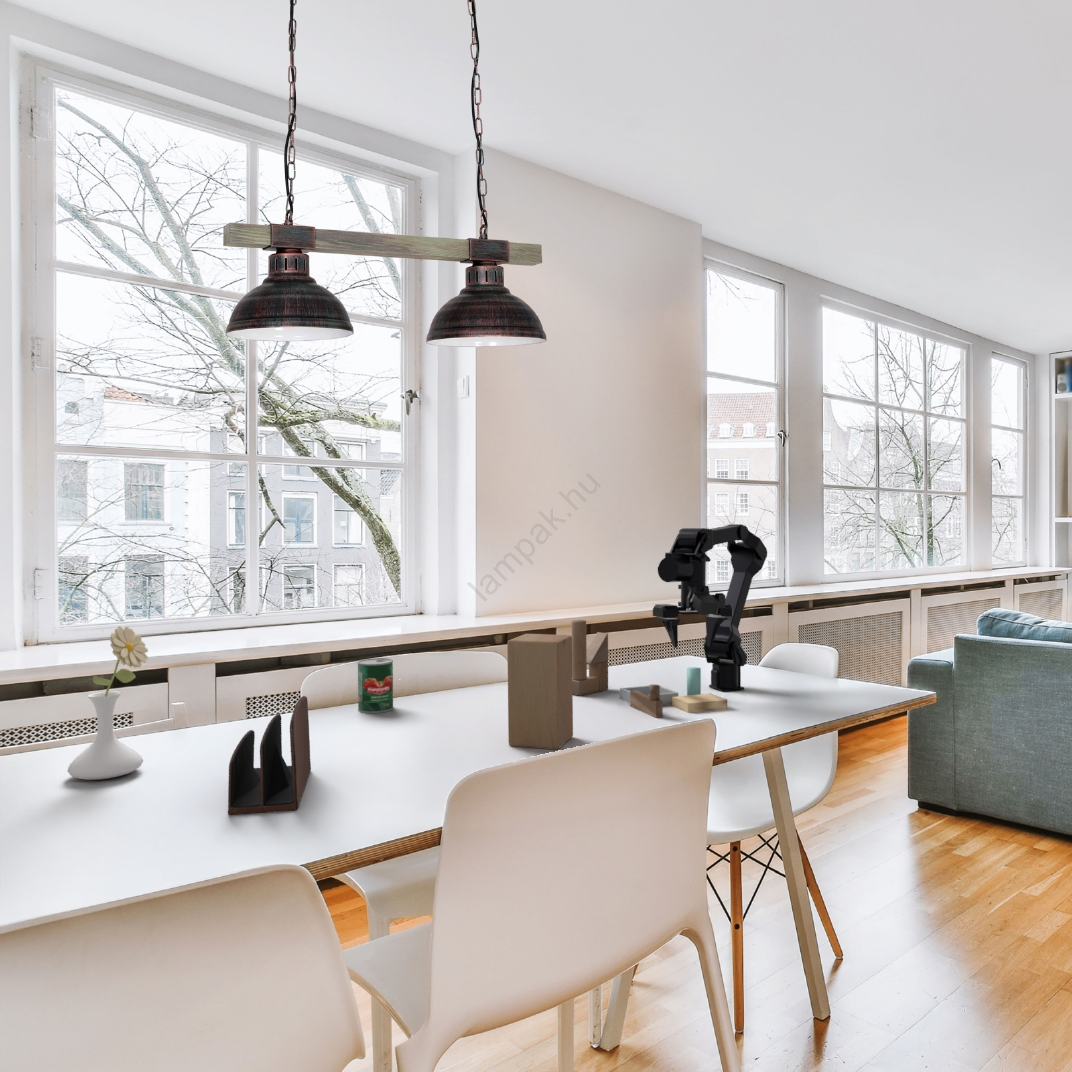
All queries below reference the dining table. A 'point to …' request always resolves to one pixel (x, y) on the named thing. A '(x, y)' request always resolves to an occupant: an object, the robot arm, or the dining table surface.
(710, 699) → the board
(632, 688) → the tray
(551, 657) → the wooden block
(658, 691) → the rail
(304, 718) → the letter holder
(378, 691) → the canned tomato
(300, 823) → the dining table surface
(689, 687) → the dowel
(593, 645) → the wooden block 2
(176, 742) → the dining table surface
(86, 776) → the flower in vase
